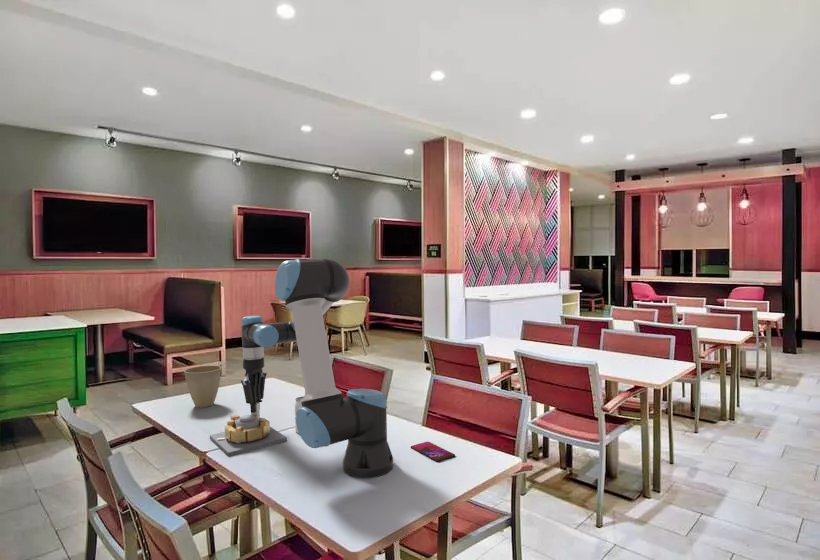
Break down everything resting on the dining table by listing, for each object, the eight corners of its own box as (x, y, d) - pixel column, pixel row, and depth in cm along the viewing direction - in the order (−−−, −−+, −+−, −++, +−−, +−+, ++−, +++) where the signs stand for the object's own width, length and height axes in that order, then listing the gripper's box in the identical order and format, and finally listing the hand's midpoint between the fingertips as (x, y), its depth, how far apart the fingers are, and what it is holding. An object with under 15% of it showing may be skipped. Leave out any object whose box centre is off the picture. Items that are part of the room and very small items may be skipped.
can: (309, 434, 176) (308, 401, 175) (292, 433, 177) (291, 400, 176) (316, 428, 182) (315, 396, 181) (299, 427, 183) (298, 395, 183)
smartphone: (428, 441, 167) (456, 454, 154) (428, 443, 167) (456, 457, 154) (409, 446, 162) (436, 461, 150) (409, 448, 162) (437, 463, 150)
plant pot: (229, 400, 219) (228, 365, 218) (208, 411, 204) (207, 373, 204) (200, 399, 222) (198, 364, 221) (177, 409, 208) (176, 372, 207)
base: (286, 440, 170) (286, 418, 170) (228, 456, 158) (227, 431, 157) (264, 425, 186) (264, 404, 185) (209, 438, 173) (209, 416, 173)
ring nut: (274, 434, 170) (274, 422, 170) (234, 445, 162) (233, 431, 161) (252, 419, 187) (252, 407, 187) (214, 428, 178) (214, 415, 178)
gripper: (255, 353, 190) (257, 413, 191) (233, 360, 177) (236, 425, 178) (272, 354, 187) (274, 415, 189) (251, 361, 175) (253, 426, 176)
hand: (255, 420), depth 183 cm, fingers closed
